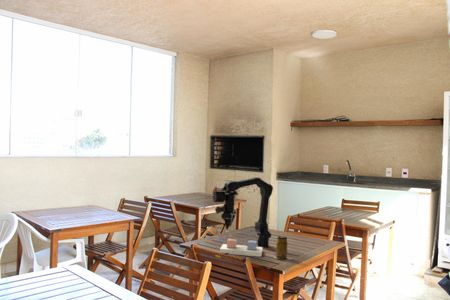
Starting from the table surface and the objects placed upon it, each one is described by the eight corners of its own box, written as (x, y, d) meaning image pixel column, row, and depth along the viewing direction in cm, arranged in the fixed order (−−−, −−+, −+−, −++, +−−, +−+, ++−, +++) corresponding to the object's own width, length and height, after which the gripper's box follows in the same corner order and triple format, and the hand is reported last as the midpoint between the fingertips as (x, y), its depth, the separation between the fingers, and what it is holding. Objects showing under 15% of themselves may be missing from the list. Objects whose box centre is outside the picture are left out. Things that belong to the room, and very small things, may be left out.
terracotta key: (236, 245, 232) (236, 239, 232) (235, 248, 227) (235, 241, 227) (228, 245, 233) (228, 238, 233) (226, 247, 228) (227, 240, 228)
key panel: (262, 251, 233) (262, 247, 233) (261, 256, 222) (261, 252, 222) (222, 248, 237) (223, 243, 237) (219, 253, 225) (219, 248, 225)
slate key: (256, 247, 230) (256, 240, 230) (255, 249, 226) (256, 242, 226) (247, 246, 231) (248, 240, 231) (247, 249, 226) (247, 242, 226)
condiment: (280, 255, 226) (281, 234, 226) (292, 258, 220) (293, 237, 220) (272, 257, 221) (273, 236, 221) (285, 261, 215) (286, 239, 215)
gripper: (219, 199, 247) (218, 223, 247) (213, 203, 228) (212, 229, 228) (237, 200, 245) (235, 225, 245) (232, 204, 226) (230, 231, 226)
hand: (228, 227), depth 236 cm, fingers open, 9 cm apart
